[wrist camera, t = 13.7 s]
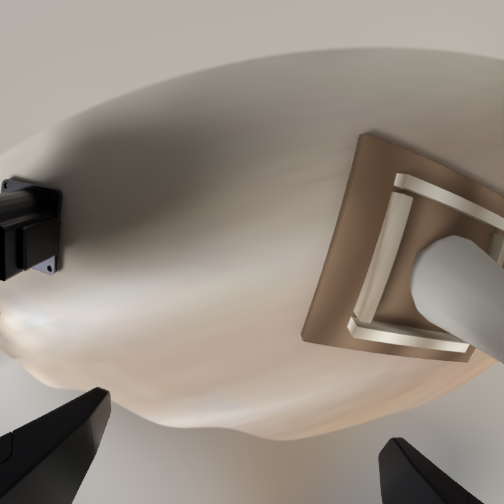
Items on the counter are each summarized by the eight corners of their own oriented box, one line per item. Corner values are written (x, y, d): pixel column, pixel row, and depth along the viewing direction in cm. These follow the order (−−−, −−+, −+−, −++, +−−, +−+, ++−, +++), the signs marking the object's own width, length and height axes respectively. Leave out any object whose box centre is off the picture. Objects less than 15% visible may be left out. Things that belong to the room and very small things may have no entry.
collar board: (300, 333, 22) (305, 352, 19) (359, 134, 18) (373, 131, 16) (462, 356, 22) (475, 371, 20) (517, 208, 19) (536, 213, 16)
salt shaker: (387, 302, 20) (494, 435, 7) (410, 220, 18) (567, 295, 6) (449, 310, 20) (556, 413, 7) (472, 238, 19) (609, 306, 6)
